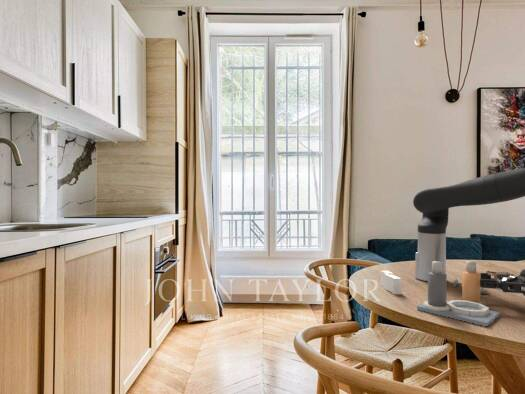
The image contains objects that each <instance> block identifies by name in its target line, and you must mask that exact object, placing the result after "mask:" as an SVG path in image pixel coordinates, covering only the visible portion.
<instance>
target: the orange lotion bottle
mask: <svg viewBox="0 0 525 394" xmlns="http://www.w3.org/2000/svg"><path fill="white" fill-rule="evenodd" d="M465 263H466V264H465V265H466V266H465V267H466V269H465V270H462V271H461V274H462V276H461V283H462V285H461V291H462V293H461V295H462V296H461V297H462V298H461V300H465V301H470V302H475V303H480V304H482V303H481V297H482V295H481V294H482V293H481V289H482V288H481V287H480V279H481V273H482V272H480V271H477V261H475V260H466V261H465Z"/></svg>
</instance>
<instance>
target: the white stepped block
mask: <svg viewBox="0 0 525 394" xmlns="http://www.w3.org/2000/svg"><path fill="white" fill-rule="evenodd" d="M380 286H383V289H384V290H386V291H387V290H388V291H387V292H389V291H390V292H389V293H391V292H392V293H391V294H393V295H402V277H399V276H397V275H395V274H394V272H391V271H389V270H380Z"/></svg>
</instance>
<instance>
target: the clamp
mask: <svg viewBox="0 0 525 394" xmlns="http://www.w3.org/2000/svg"><path fill="white" fill-rule="evenodd" d="M452 286H453V287H457V286H462V282H459V280H458V279H455V280H453V282H452ZM481 294H483V295H489V290H488V289H484V288H482V287H481Z"/></svg>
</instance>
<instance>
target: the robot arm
mask: <svg viewBox="0 0 525 394" xmlns="http://www.w3.org/2000/svg"><path fill="white" fill-rule="evenodd" d="M524 197H525V167H524V168H523V167H521V168H516V169H511V170H505V171H499V172H496V173H491V174H487V175H483V176H479V177H476V178H472V179H469V180H465V181H462V182H459V183H456V184H452V185H448V186H441V187H433V188H424V189H422V190H420V191H418V192H417V193H416V194H415V195H414V197H413V201H412V203H413V207H414V208H415V209H416V211H418V212H420V213H422V219H421V220H420V222H419V223H418V225H417V252H415V256H414V257H415V271H414V272H415V277H414V278H415V279H418V280H421V281H425V282H428V272H432V261H439V262H442V273H446V272H447V227H448V224H449V214H450V212H449V211H450V210H449V209H450V208H451V209H452V208H455V207H467V206H471V207H472V206H483V205H491V204H498V203H504V202H508V201H509V202H510V201H513V200H517V199H520V198H524ZM480 273H481V279H480V287H482V288H481V289H494V290H498V291H502V292H503V293H514V294H522V296H524V297H525V268H524V269H522V270H521V271H520V272H519V275H515V274H514V273H511V272H504V271H502V272H501V271H490V270H486V271H485V272H480ZM446 274H447V273H446Z"/></svg>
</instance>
